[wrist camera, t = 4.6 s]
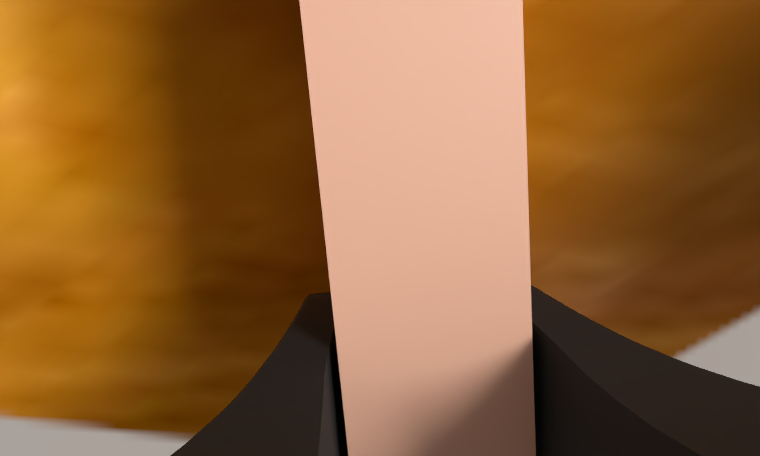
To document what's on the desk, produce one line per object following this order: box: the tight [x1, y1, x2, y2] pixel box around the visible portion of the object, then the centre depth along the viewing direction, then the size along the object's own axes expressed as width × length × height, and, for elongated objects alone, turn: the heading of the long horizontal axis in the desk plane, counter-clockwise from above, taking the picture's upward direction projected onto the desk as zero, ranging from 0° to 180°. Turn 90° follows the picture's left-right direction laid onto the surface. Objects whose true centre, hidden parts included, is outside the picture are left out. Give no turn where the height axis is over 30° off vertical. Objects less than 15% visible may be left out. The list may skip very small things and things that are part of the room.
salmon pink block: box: [299, 0, 536, 456], centre depth 10 cm, size 3×12×6 cm, turn 4°
